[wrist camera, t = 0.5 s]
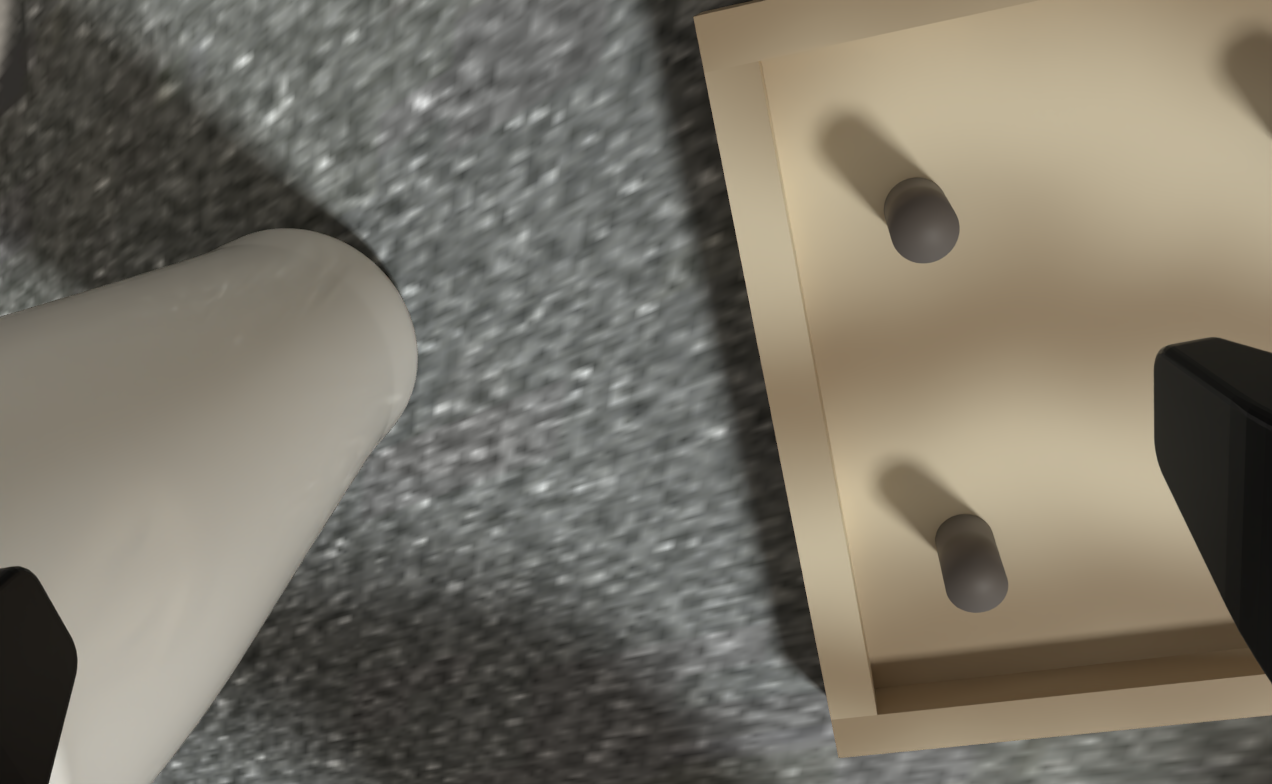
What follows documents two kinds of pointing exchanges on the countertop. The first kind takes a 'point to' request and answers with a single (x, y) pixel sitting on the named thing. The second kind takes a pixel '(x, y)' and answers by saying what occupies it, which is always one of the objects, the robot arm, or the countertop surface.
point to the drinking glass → (187, 467)
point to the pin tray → (997, 342)
